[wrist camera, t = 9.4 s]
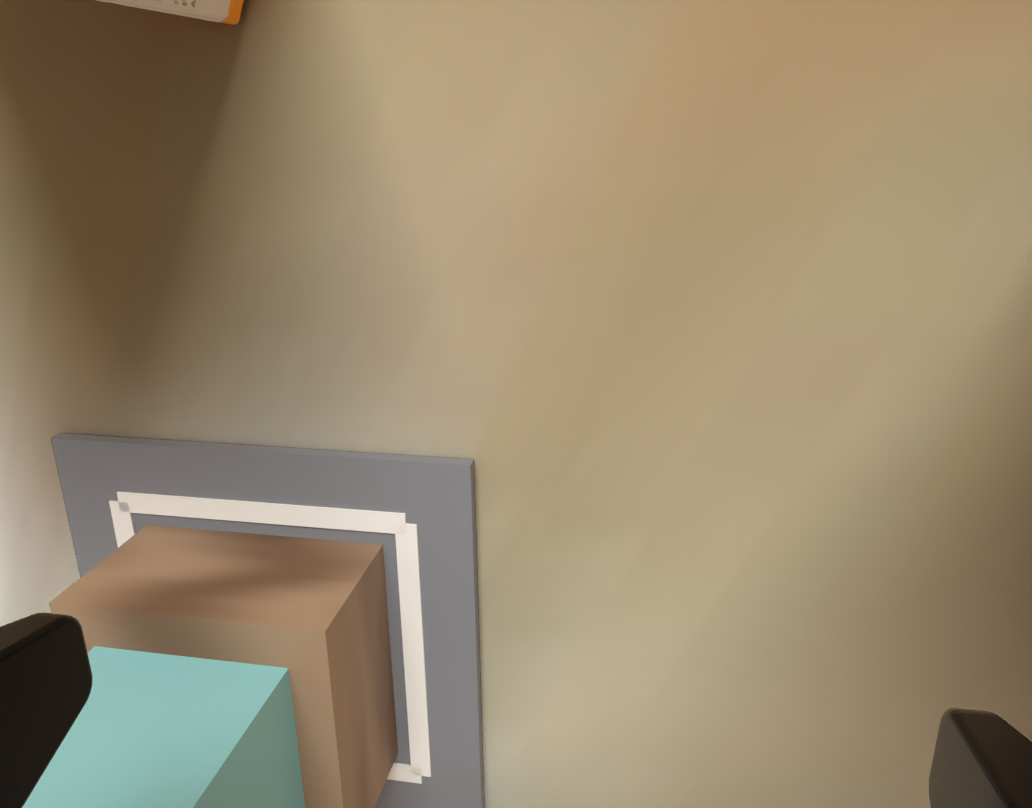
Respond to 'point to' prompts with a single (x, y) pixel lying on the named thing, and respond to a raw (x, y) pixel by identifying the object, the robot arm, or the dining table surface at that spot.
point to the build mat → (330, 516)
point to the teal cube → (177, 737)
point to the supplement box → (191, 8)
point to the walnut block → (265, 634)
